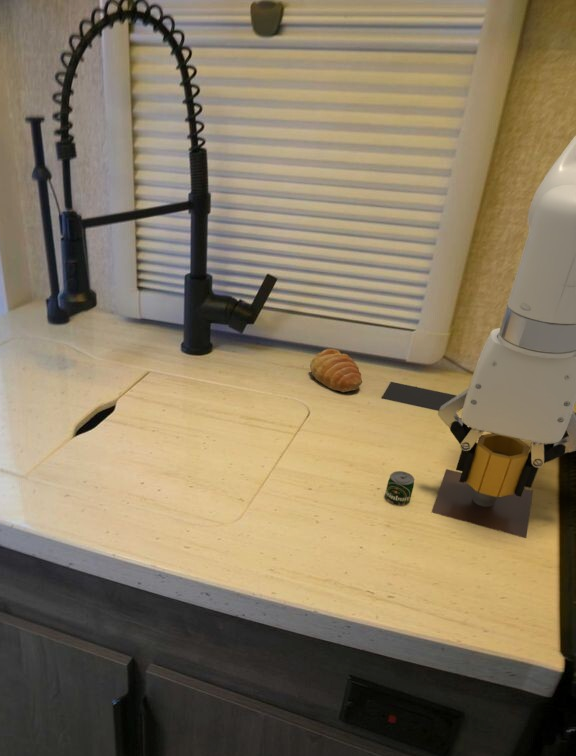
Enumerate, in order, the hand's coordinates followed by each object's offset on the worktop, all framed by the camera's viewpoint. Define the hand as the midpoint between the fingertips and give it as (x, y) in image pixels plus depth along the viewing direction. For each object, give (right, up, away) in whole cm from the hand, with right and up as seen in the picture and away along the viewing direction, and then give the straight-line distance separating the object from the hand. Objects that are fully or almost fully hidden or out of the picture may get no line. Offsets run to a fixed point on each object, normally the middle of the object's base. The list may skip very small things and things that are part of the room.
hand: (491, 481), depth 75 cm
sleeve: (0, 0, 0) cm, 0 cm away
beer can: (-10, -3, +3) cm, 11 cm away
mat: (0, +13, +25) cm, 28 cm away
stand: (0, -3, +2) cm, 4 cm away
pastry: (-11, +17, +30) cm, 36 cm away
